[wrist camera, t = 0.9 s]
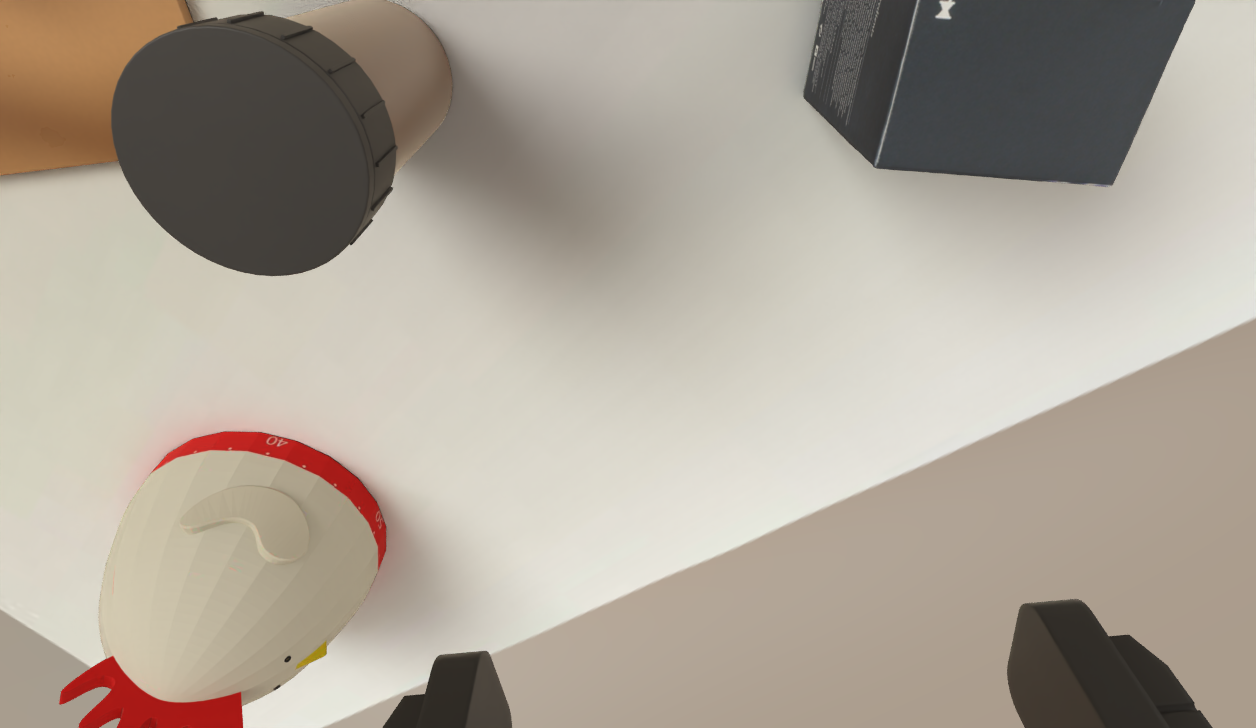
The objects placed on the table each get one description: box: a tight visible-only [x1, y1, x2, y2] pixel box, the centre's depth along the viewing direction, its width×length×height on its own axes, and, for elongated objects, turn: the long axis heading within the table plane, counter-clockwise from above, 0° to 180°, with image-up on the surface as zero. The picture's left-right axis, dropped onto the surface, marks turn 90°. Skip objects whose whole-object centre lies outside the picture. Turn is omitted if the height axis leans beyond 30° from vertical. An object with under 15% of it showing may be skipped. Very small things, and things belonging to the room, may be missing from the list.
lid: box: [111, 12, 398, 276], centre depth 21 cm, size 7×7×3 cm
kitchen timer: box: [59, 432, 386, 728], centre depth 38 cm, size 14×14×15 cm
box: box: [804, 0, 1195, 187], centre depth 26 cm, size 8×6×11 cm
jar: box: [285, 0, 452, 175], centre depth 26 cm, size 6×6×12 cm
